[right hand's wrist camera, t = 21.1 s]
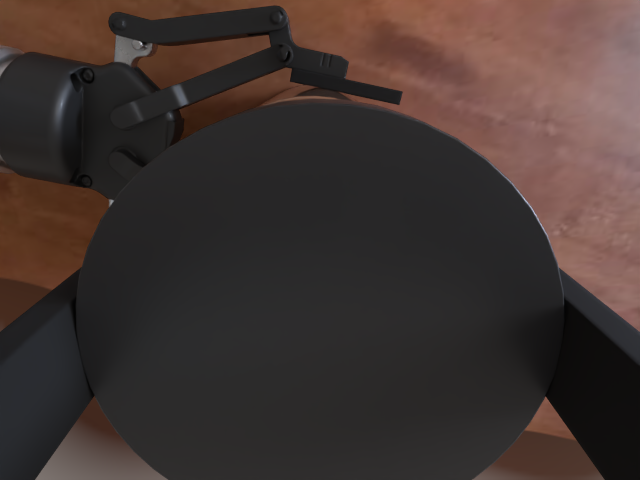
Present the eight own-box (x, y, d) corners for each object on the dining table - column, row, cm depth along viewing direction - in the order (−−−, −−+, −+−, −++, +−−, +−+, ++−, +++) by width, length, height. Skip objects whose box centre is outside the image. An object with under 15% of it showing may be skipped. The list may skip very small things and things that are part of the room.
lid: (617, 200, 11) (669, 222, 9) (419, 511, 15) (431, 566, 13) (166, 17, 9) (135, 4, 8) (74, 414, 13) (39, 460, 11)
